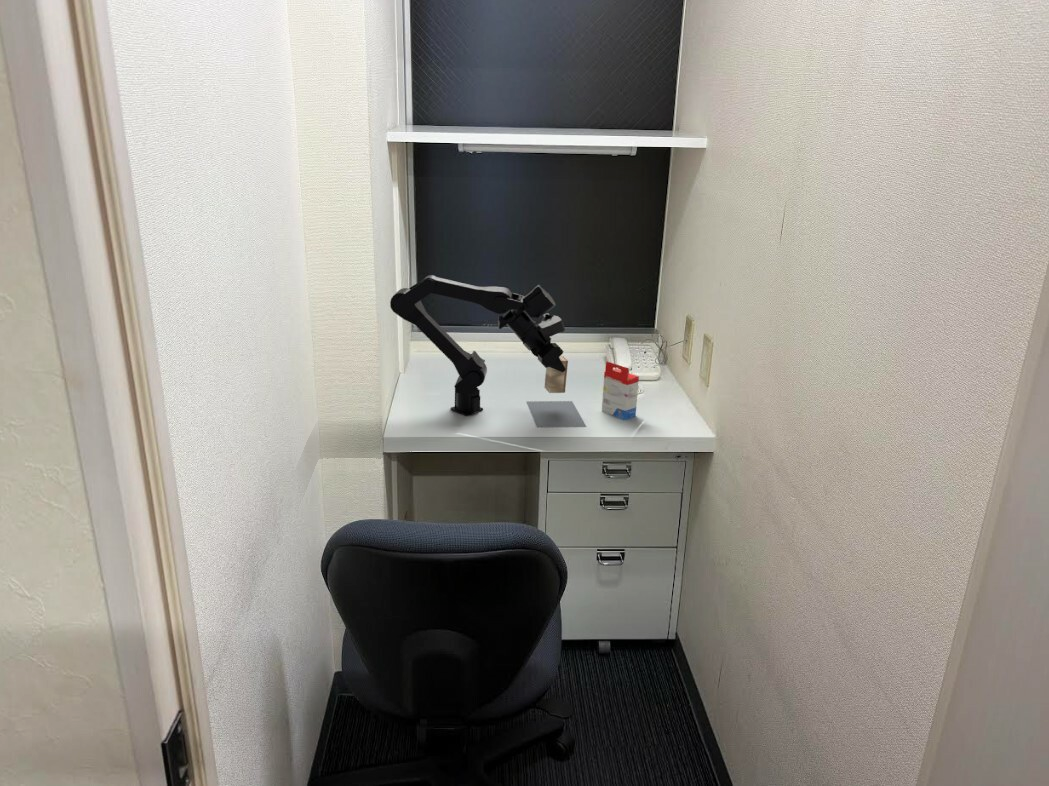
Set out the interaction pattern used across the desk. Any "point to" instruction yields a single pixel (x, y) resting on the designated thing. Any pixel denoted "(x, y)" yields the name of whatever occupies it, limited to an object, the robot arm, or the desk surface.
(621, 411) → the ink box
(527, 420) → the desk surface
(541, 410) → the slate mat
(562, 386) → the beech block
